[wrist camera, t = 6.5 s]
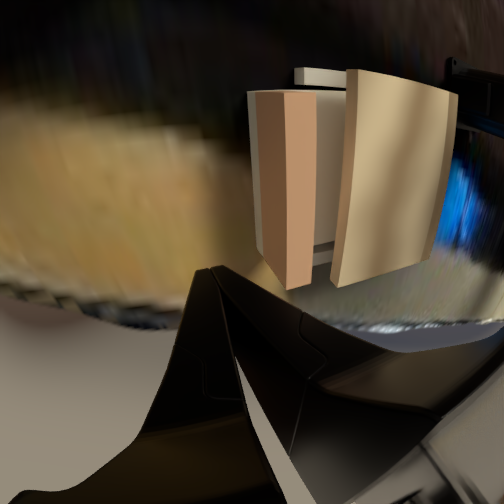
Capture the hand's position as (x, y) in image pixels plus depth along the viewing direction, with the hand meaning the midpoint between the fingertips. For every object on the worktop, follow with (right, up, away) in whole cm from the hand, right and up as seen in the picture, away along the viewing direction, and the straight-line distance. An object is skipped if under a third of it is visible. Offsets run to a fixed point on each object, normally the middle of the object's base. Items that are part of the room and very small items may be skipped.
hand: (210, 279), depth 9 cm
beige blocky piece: (+7, +7, +10) cm, 14 cm away
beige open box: (+8, +7, +10) cm, 15 cm away
